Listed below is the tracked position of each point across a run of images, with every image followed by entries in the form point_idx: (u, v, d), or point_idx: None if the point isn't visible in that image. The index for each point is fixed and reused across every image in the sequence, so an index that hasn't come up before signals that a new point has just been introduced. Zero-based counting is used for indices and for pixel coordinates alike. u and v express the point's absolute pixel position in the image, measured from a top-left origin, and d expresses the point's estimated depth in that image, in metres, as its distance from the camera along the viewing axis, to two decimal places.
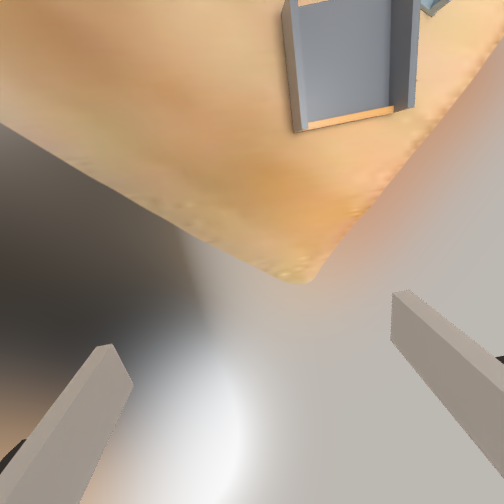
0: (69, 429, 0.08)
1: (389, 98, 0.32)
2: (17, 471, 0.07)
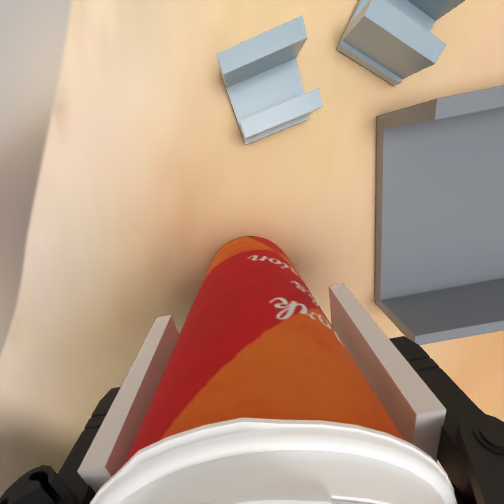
0: (152, 379, 0.09)
1: None
2: (124, 404, 0.08)
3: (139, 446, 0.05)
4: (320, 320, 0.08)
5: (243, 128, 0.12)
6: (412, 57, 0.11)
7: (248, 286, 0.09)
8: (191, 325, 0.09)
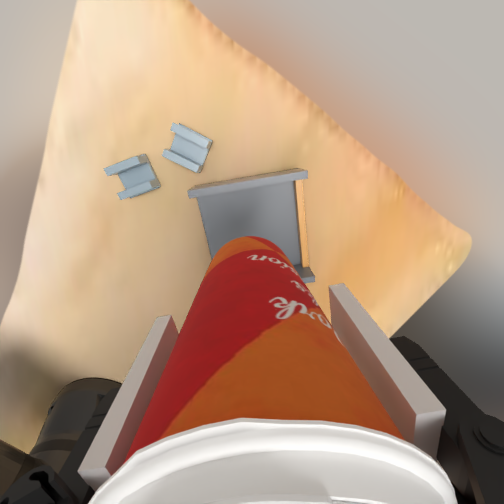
0: (152, 379, 0.09)
1: None
2: (124, 404, 0.08)
3: (138, 446, 0.05)
4: (320, 320, 0.08)
5: (119, 196, 0.27)
6: (189, 168, 0.27)
7: (248, 286, 0.09)
8: (190, 325, 0.09)
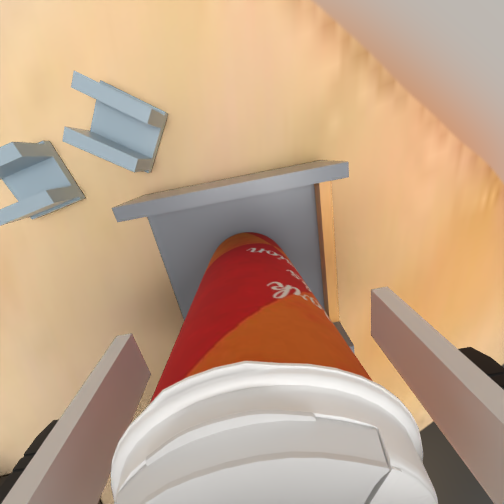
0: (98, 411, 0.09)
1: None
2: (55, 445, 0.07)
3: None
4: (312, 301, 0.09)
5: None
6: None
7: (248, 273, 0.10)
8: (197, 307, 0.10)
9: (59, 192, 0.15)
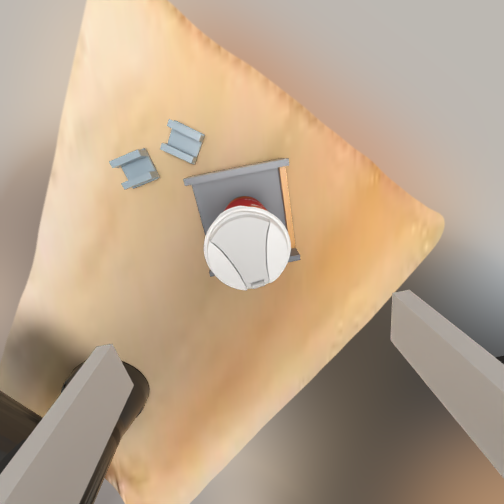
0: (69, 429, 0.08)
1: None
2: (17, 471, 0.07)
3: None
4: (266, 210, 0.26)
5: (123, 186, 0.31)
6: (185, 160, 0.31)
7: (243, 202, 0.27)
8: None
9: (152, 173, 0.31)
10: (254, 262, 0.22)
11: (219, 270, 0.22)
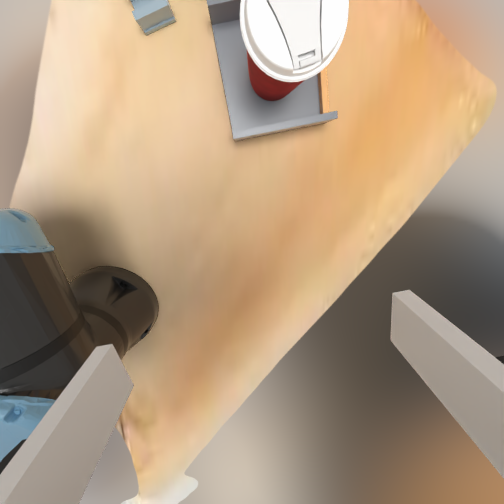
0: (69, 429, 0.08)
1: None
2: (17, 471, 0.07)
3: None
4: None
5: (134, 15, 0.26)
6: None
7: None
8: None
9: (168, 3, 0.27)
10: (306, 19, 0.17)
11: (260, 31, 0.17)
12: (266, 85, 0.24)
